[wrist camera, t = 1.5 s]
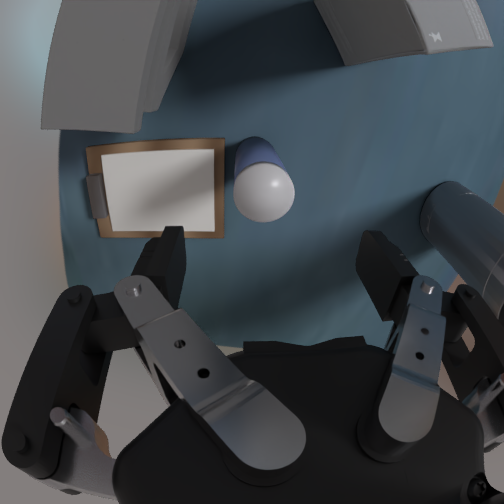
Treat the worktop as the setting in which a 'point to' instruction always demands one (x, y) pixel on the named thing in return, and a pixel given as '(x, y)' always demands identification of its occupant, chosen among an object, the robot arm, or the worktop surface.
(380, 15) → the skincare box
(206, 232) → the clipboard
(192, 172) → the paper
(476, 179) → the worktop surface
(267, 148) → the marker
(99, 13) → the grey curved block
